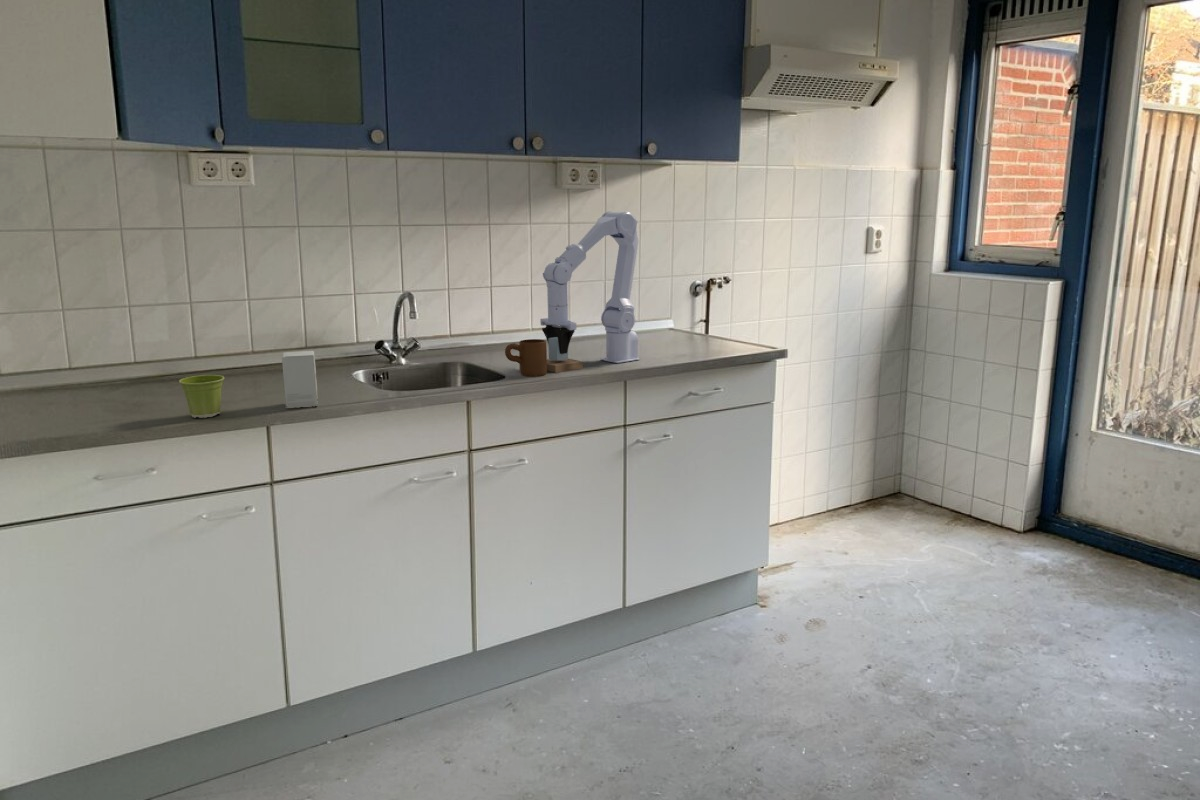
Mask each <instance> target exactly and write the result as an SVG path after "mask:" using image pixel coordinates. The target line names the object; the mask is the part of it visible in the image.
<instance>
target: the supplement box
mask: <svg viewBox="0 0 1200 800" xmlns="http://www.w3.org/2000/svg"><path fill="white" fill-rule="evenodd" d="M281 364H282V376H283V387H284V388H283V389H284V401H285V407H286V406H291V405H303V404H318V401H317V399H318V384H317V383H318V382H317V369H316V368H317V367H316V356H315V351H314V350H303V351H287V352H286V351H285V352H282V355H281Z"/></svg>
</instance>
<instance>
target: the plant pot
mask: <svg viewBox="0 0 1200 800" xmlns="http://www.w3.org/2000/svg"><path fill="white" fill-rule="evenodd" d="M224 380H225V377H224V375H219V374H217V375H216V374H202V375H200V374H199V375H194V376H188V377H184V378H181V379H179V380H178V382H179V384H180V385H181V387H182V389H183V391H184V395H185V398H186V402H187V406H188V409H189V413H190V414H189V415H191V414H193V415H205V414H213V413H217V412H220V413H221V402H222V401H221V399H222V387H223V381H224Z"/></svg>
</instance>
